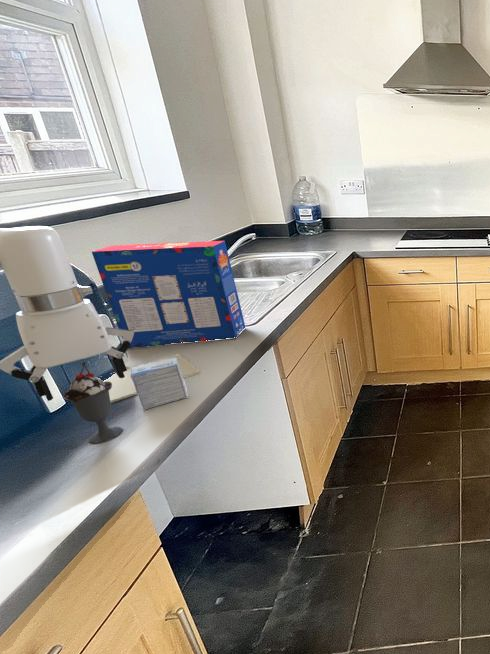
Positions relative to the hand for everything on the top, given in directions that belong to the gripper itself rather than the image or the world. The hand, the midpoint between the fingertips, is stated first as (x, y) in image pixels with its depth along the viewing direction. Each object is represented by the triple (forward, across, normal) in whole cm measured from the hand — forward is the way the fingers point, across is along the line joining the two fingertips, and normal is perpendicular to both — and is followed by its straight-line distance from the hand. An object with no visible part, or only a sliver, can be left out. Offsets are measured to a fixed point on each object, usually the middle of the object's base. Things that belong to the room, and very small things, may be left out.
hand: (86, 386), depth 77 cm
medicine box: (+11, -11, -6) cm, 17 cm away
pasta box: (+11, -25, -42) cm, 50 cm away
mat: (+11, -11, -22) cm, 27 cm away
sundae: (+11, 0, 0) cm, 11 cm away
